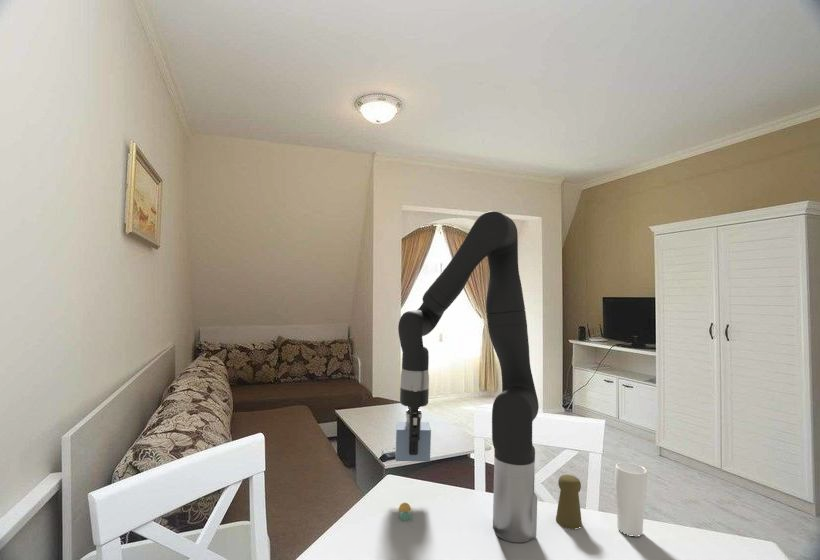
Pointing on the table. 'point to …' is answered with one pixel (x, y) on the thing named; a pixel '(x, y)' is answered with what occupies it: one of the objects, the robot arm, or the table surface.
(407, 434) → the blue-grey block
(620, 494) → the drinking glass
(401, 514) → the green marble
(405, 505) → the amber marble
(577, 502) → the cork
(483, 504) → the table surface
